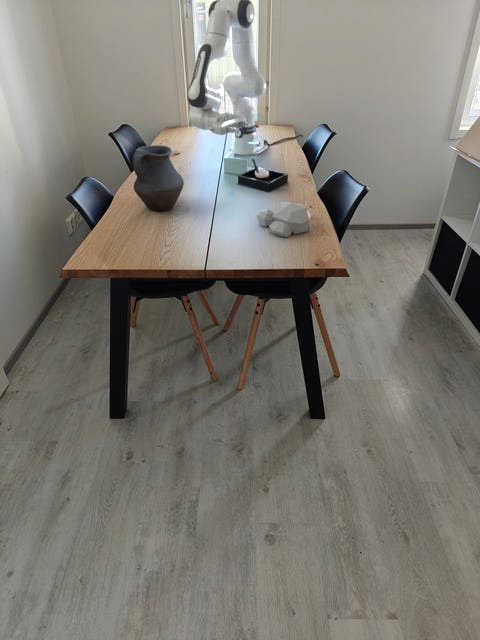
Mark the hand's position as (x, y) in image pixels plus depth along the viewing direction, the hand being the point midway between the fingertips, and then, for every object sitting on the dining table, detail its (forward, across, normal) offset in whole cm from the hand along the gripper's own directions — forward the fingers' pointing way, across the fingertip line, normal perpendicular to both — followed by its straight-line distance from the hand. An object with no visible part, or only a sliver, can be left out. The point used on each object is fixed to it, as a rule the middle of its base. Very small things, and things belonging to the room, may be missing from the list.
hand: (243, 128), depth 199 cm
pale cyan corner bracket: (-6, +6, +23) cm, 24 cm away
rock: (+45, -39, +20) cm, 62 cm away
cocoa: (+13, -4, +21) cm, 25 cm away
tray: (+13, -3, +22) cm, 26 cm away
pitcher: (-8, -50, +22) cm, 55 cm away
